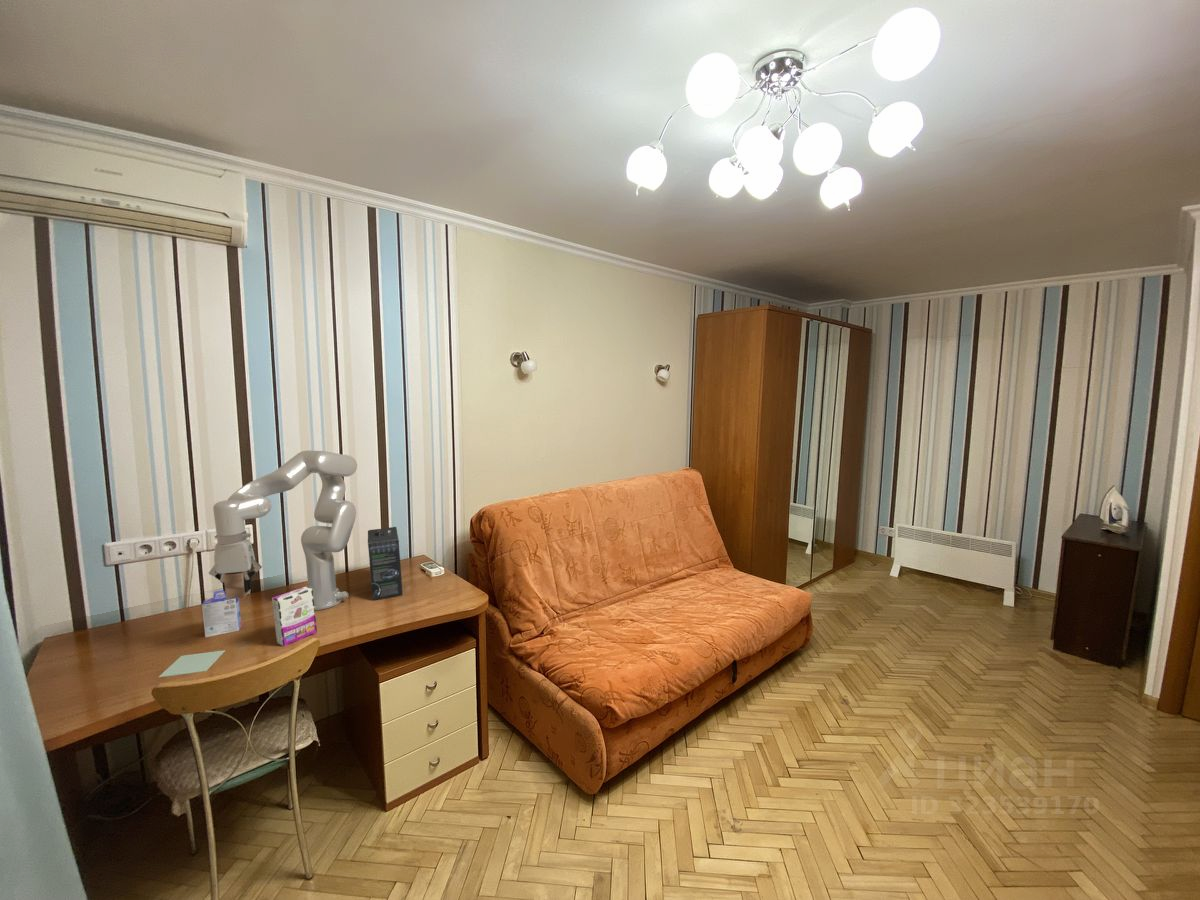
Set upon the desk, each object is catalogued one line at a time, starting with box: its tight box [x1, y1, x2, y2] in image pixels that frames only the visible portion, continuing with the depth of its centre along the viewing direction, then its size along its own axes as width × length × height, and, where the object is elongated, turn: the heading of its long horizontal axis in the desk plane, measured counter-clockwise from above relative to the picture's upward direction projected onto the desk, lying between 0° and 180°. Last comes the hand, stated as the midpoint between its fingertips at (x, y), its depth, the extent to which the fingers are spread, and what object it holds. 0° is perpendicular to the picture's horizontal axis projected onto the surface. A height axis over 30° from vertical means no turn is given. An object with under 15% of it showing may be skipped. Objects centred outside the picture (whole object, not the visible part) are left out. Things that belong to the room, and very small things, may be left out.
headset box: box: [367, 526, 403, 601], centre depth 206 cm, size 22×12×26 cm, turn 25°
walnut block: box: [223, 572, 251, 599], centre depth 160 cm, size 5×5×8 cm
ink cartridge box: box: [201, 589, 242, 638], centre depth 171 cm, size 10×6×14 cm, turn 120°
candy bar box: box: [271, 585, 318, 647], centre depth 166 cm, size 11×5×16 cm, turn 148°
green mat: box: [158, 650, 226, 678], centre depth 151 cm, size 12×12×1 cm
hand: (238, 590), depth 160 cm, fingers closed on walnut block, 5 cm apart
